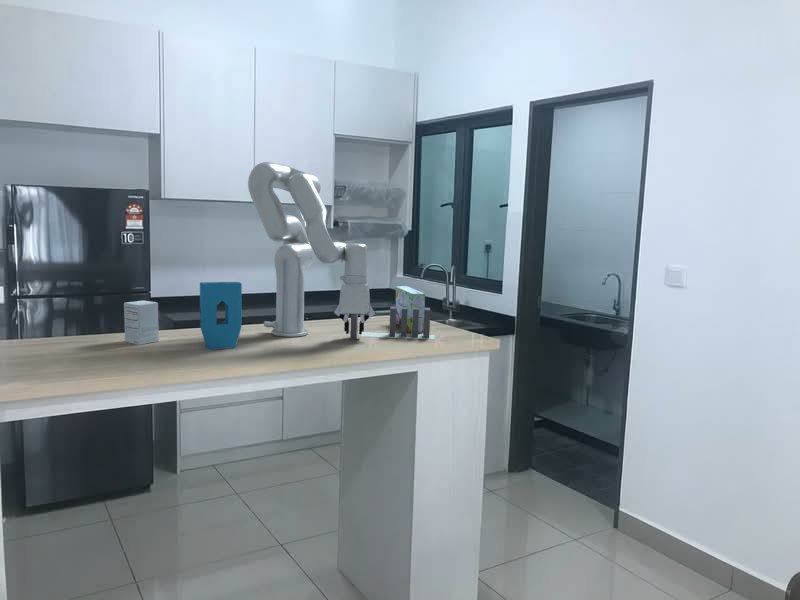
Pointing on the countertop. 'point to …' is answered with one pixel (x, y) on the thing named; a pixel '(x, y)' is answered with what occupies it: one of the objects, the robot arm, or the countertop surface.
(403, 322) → the domino
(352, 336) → the domino
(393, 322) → the domino
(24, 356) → the countertop surface
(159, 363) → the countertop surface
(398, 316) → the snack box
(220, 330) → the block
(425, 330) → the domino
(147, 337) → the supplement box
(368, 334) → the mat
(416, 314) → the domino
